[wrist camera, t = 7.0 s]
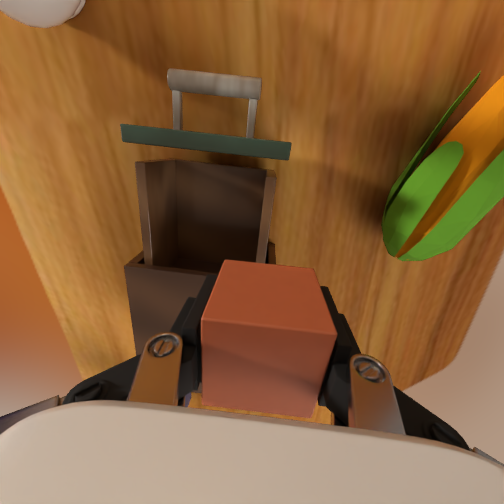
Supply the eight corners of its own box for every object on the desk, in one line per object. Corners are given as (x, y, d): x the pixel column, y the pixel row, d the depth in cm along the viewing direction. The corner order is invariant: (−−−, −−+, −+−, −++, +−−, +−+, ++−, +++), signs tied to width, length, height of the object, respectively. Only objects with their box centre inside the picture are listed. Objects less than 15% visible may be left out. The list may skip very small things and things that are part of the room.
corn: (382, 261, 21) (605, -38, 13) (350, 231, 27) (481, 25, 20) (448, 288, 22) (689, 30, 14) (401, 253, 29) (544, 67, 21)
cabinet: (167, 231, 29) (123, 265, 20) (274, 244, 29) (277, 284, 20) (172, 327, 35) (140, 385, 27) (260, 338, 35) (257, 401, 26)
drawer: (162, 81, 22) (111, 49, 15) (291, 95, 22) (303, 69, 15) (170, 258, 30) (139, 292, 23) (266, 270, 29) (265, 308, 22)
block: (224, 258, 12) (200, 318, 8) (314, 267, 12) (339, 334, 7) (221, 327, 14) (201, 405, 9) (299, 336, 13) (312, 419, 9)
